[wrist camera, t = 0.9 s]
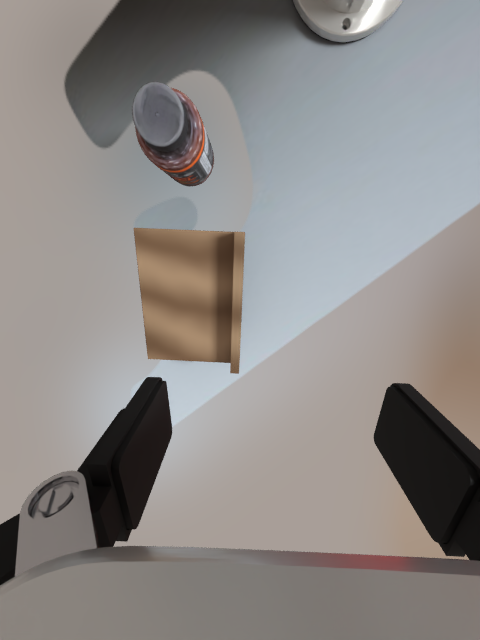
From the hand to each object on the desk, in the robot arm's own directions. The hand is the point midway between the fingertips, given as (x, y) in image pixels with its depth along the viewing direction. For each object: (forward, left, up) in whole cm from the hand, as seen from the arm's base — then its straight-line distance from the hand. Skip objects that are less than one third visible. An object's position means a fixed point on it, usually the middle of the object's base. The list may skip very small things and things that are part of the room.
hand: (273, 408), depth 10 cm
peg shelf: (+1, -8, -25) cm, 26 cm away
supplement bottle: (-15, -9, -25) cm, 30 cm away
